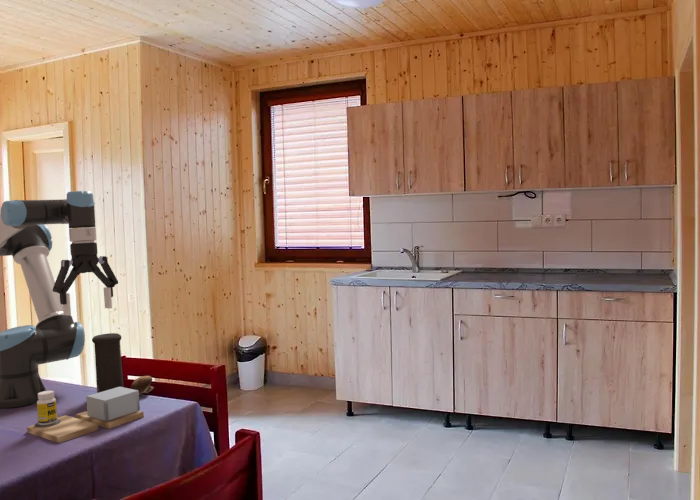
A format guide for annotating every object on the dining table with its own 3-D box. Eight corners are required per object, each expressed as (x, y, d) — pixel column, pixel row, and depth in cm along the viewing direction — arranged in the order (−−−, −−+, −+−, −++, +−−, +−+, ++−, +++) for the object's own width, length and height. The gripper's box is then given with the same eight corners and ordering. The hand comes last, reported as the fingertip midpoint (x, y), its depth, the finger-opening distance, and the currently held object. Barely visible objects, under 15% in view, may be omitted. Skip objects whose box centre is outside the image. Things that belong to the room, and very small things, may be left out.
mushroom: (162, 380, 206) (149, 367, 204) (154, 396, 199) (140, 382, 197) (145, 390, 208) (132, 377, 206) (136, 406, 201) (122, 393, 199)
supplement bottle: (49, 425, 169) (47, 395, 168) (34, 425, 170) (32, 395, 169) (61, 419, 174) (59, 390, 173) (46, 419, 175) (44, 389, 174)
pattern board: (76, 419, 179) (75, 403, 179) (110, 408, 188) (109, 393, 188) (109, 428, 170) (107, 412, 169) (143, 416, 178) (142, 401, 178)
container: (115, 390, 209) (111, 330, 207) (130, 394, 203) (126, 332, 202) (91, 396, 202) (86, 335, 201) (105, 401, 196) (101, 337, 195)
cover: (87, 416, 176) (86, 396, 175) (121, 405, 184) (119, 386, 184) (106, 421, 170) (105, 400, 170) (139, 410, 179) (138, 390, 179)
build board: (25, 432, 170) (25, 425, 170) (64, 420, 179) (64, 414, 179) (58, 443, 160) (58, 436, 160) (98, 429, 169) (97, 423, 169)
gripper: (49, 244, 178) (55, 319, 180) (126, 239, 198) (131, 306, 200) (36, 245, 183) (42, 317, 184) (112, 239, 203) (117, 304, 204)
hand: (88, 311), depth 192 cm, fingers open, 13 cm apart
